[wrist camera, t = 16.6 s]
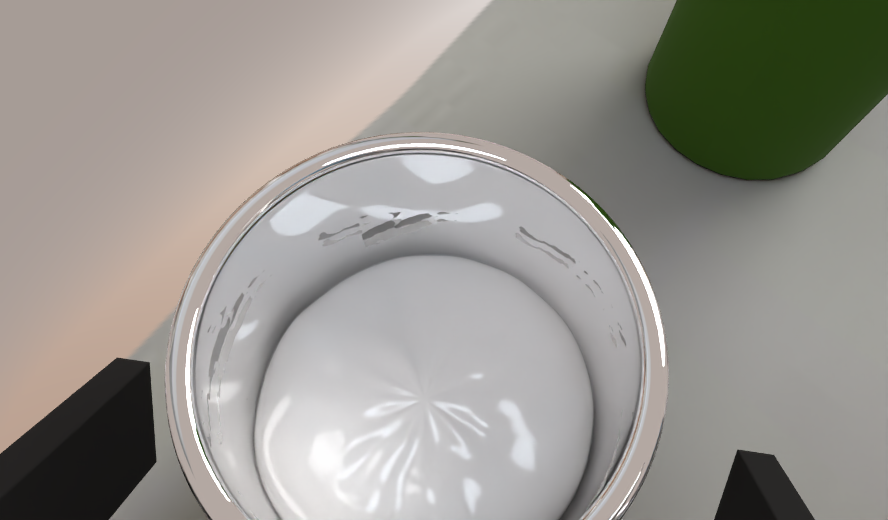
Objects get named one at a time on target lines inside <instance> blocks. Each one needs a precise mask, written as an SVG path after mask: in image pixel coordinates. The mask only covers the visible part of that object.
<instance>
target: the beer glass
mask: <svg viewBox="0 0 888 520" xmlns="http://www.w3.org/2000/svg"><path fill="white" fill-rule="evenodd" d="M668 389H669V358H668V347H667V340H666V334H665V328H664V323H663V319H662V315H661V311H660V307H659V304H658V301H657V298H656V295H655V292H654V290H653V287H652V285H651V282H650V280H649V277H648V275H647V273H646V271H645V269H644V267H643V265H642V263H641V261H640V259H639V258H638V256H637V254H636V252H635V251H634V249H633V247H632V246H631V244H630V243H629V241H628V240H627V238H626V237H625V235H624V234H623V233H622V231H621V230H620V229H619V227H618V226H617V225H616V224H615V222H614V221H613V220H612V219H611V218H610V216H609V215H608V214H607V213H606V212H605V211H604V210H603V209H602V208H601V207H600V206H599V205H598V204H597V203H596V202H595V201H594V200H593V199H592V198H591V197H590V196H589V195H588V194H586V193H585V192H584V191H583V190H582V189H580V188H579V187H578V186H577V185H575V184H574V183H573V182H571V181H570V180H569V179H567V178H566V177H564V176H563V175H562V174H560V173H558V172H557V171H555V170H554V169H552V168H550V167H549V166H547V165H545V164H543V163H541V162H540V161H538V160H536V159H534V158H532V157H530V156H527V155H525V154H523V153H521V152H518V151H516V150H513V149H511V148H508V147H505V146H502V145H499V144H496V143H493V142H489V141H486V140H482V139H477V138H473V137H467V136H461V135H455V134H447V133H434V132H410V133H395V134H387V135H380V136H374V137H369V138H364V139H360V140H356V141H352V142H349V143H346V144H342V145H339V146H336V147H333V148H330V149H328V150H325V151H323V152H320V153H318V154H316V155H314V156H311V157H309V158H307V159H305V160H303V161H301V162H299V163H297V164H296V165H294V166H292V167H290V168H289V169H287V170H285V171H284V172H282V173H280V174H279V175H277V176H276V177H274V178H273V179H272V180H270V181H269V182H268V183H266V184H265V185H264V186H262V187H261V188H260V189H258V190H257V191H256V192H255V193H253V194H252V195H251V196H250V197H249V198H248V199H247V200H246V201H244V202H243V204H242V205H240V206H239V207H238V208H237V209H236V210H235V211H234V212H233V213H232V214H231V216H230V217H229V218H228V219H227V220H226V221H225V222H224V223H223V225H222V226H221V227H220V228H219V230H218V231H217V232H216V233H215V235H214V236H213V238H212V239H211V240H210V242H209V243H208V245H207V246H206V248H205V249H204V251H203V252H202V254H201V256H200V257H199V259H198V260H197V263H196V264H195V266H194V268H193V270H192V272H191V274H190V276H189V278H188V280H187V282H186V284H185V286H184V289H183V291H182V294H181V297H180V299H179V302H178V305H177V308H176V311H175V314H174V318H173V322H172V326H171V330H170V335H169V341H168V347H167V355H166V366H165V397H166V409H167V416H168V422H169V428H170V433H171V437H172V441H173V445H174V448H175V452H176V455H177V458H178V461H179V464H180V466H181V469H182V471H183V474H184V476H185V478H186V481H187V483H188V485H189V487H190V489H191V491H192V493H193V495H194V497H195V498H196V500H197V502H198V504H199V505H200V507H201V508H202V510H203V511H204V513H205V515H206V516H207V518H208V519H209V520H621V518H622V517H623V516H624V514H625V513H626V511H627V510H628V508H629V507H630V505H631V503H632V502H633V500H634V499H635V497H636V495H637V493H638V492H639V490H640V488H641V486H642V484H643V482H644V480H645V478H646V476H647V474H648V471H649V469H650V466H651V464H652V462H653V459H654V456H655V453H656V450H657V447H658V444H659V441H660V437H661V433H662V429H663V425H664V420H665V415H666V409H667V400H668Z"/></svg>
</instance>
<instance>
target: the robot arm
mask: <svg viewBox="0 0 888 520" xmlns="http://www.w3.org/2000/svg"><path fill="white" fill-rule="evenodd" d="M155 463H156V448H155V434H154V419H153V405H152V391H151V376H150V362H143V361H136V360H129V359H123V358H116V359H115V360H114V361H112V362H111V363H110V364H109V365H108V366H107V367H105V368H104V369H103V370H101V371H100V372H99V373H98V374H97V375H95V376H94V377H93V378H92V379H91V380H89V381H88V382H87V383H86V384H85V385H84V386H82V387H81V388H80V389H78V390H77V391H76V392H75V393H74V394H72V395H71V396H70V397H69V398H68V399H66V400H65V401H64V402H63V403H61V404H60V405H59V406H58V407H57V408H55V409H54V410H53V411H52V412H50V413H49V414H48V415H47V416H46V417H45V418H43V419H42V420H41V421H40V422H38V423H37V424H36V425H35V426H33V427H32V428H31V429H30V430H29V431H27V432H26V433H25V434H24V435H23V436H21V437H20V438H19V439H18V440H17V441H15V442H14V443H13V444H12V445H11V446H9V447H8V448H7V449H6V450H4V451H3V452H2V453H1V454H0V520H109V519H110V517H111V516H112V515H113V514H114V513H115V511H116V510H117V509H118V508H119V507H120V505H121V504H122V503H123V502H124V500H125V499H126V498H127V497H128V496H129V494H130V493H131V492H132V491H133V490H134V488H135V487H136V486H137V485H138V483H139V482H140V481H141V480H142V479H143V477H144V476H145V475H146V474H147V473H148V471H149V470H150V469H151V468H152V467H153V465H154V464H155ZM714 520H815V519H814V518H813V516H812V514H811V513H810V511H809V510H808V508H807V507H806V505H805V503H804V502H803V500H802V499H801V497H800V495H799V494H798V492H797V491H796V489H795V488H794V486H793V484H792V483H791V481H790V480H789V478H788V477H787V475H786V473H785V472H784V470H783V469H782V467H781V465H780V464H779V462H778V461H777V459H776V458H775V456H774V455H770V454H764V453H757V452H750V451H743V450H737V453H736V456H735V459H734V462H733V465H732V468H731V471H730V474H729V477H728V480H727V483H726V486H725V489H724V492H723V495H722V498H721V501H720V504H719V507H718V510H717V513H716V516H715V519H714Z"/></svg>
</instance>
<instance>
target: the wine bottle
mask: <svg viewBox="0 0 888 520" xmlns="http://www.w3.org/2000/svg"><path fill="white" fill-rule="evenodd" d="M645 91H646V98H647V103H648V108H649V112H650V114H651V116H652V118H653V120H654V122H655V124H656V126H657V128H658V130H659V131H660V133H661V134H662V135H663V136H664V137H665V138H666V139H667V140H668V141H669V142H670V144H671V145H672V146H673V147H674V148H675V149H676V150H678V151H679V152H680V153H682V154H683V155H685V156H686V157H687V158H689V159H690V160H692V161H693V162H695V163H696V164H698V165H700V166H703V167H705V168H707V169H710V170H712V171H714V172H717V173H719V174H722V175H727V176H731V177H736V178H741V179H746V180H760V179H776V178H779V177H783V176H787V175H791V174H795V173H797V172H800V171H802V170H805V169H806V168H808V167H810V166H811V165H813V164H815V163H816V162H818V161H820V160H821V159H823V158H824V157H825V156H826V155H827V154H828V153H829V152H830V151H831V150H832V149H833V148H834V147H835V146H836V145H837V144H838V143H839V142H840V141H841V140H842V139H843V138H844V137H845V136H846V135H847V134H848V133H849V132H850V131H851V130H852V129H853V128H854V127H855V126H856V125H857V124H858V123H859V122H860V121H861V120H862V119H863V118H864V117H865V116H866V115H867V114H868V113H869V112H870V111H871V110H872V109H873V108H874V107H875V106H876V105H877V104H878V103H879V102H880V101H881V100H882V99H883V98H884V97H885V96H886V95H887V94H888V0H677V1H676V3H675V6H674V8H673V10H672V13H671V15H670V17H669V19H668V22H667V24H666V26H665V28H664V31H663V33H662V35H661V38H660V40H659V42H658V44H657V47H656V49H655V51H654V53H653V56H652V58H651V60H650V63H649V65H648V69H647V77H646V84H645Z"/></svg>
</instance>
